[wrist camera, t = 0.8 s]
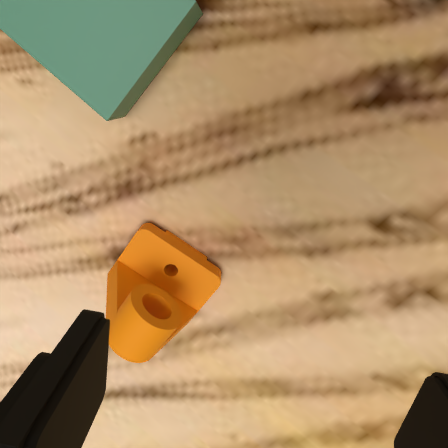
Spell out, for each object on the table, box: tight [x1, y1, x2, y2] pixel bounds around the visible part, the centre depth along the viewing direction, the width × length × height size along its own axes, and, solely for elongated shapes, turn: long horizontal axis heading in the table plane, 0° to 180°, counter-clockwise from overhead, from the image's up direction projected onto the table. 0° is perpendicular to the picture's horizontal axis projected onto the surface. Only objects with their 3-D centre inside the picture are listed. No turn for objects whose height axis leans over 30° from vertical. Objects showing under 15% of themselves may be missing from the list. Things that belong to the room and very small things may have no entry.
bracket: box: [106, 223, 221, 363], centre depth 36 cm, size 11×7×12 cm
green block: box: [0, 0, 203, 121], centre depth 30 cm, size 12×13×5 cm
